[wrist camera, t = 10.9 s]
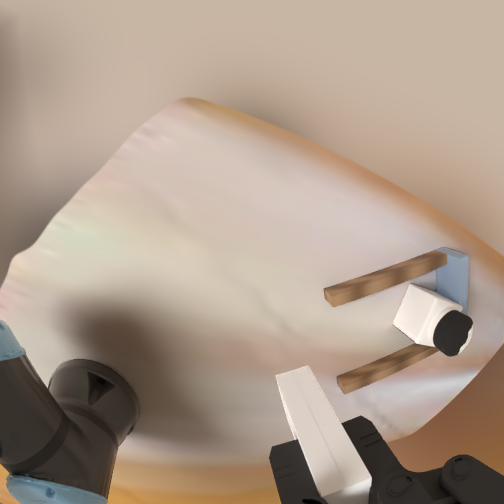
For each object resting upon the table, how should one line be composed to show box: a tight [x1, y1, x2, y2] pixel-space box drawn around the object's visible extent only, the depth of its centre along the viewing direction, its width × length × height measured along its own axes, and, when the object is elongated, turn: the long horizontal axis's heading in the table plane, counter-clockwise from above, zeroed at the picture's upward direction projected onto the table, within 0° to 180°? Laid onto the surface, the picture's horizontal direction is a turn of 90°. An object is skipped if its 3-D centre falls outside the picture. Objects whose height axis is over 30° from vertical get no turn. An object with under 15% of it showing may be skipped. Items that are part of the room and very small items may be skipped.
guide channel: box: [324, 250, 447, 394], centre depth 42 cm, size 20×17×3 cm
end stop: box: [436, 247, 468, 316], centre depth 42 cm, size 2×17×6 cm, turn 14°
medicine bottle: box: [393, 284, 473, 357], centre depth 39 cm, size 7×7×12 cm
